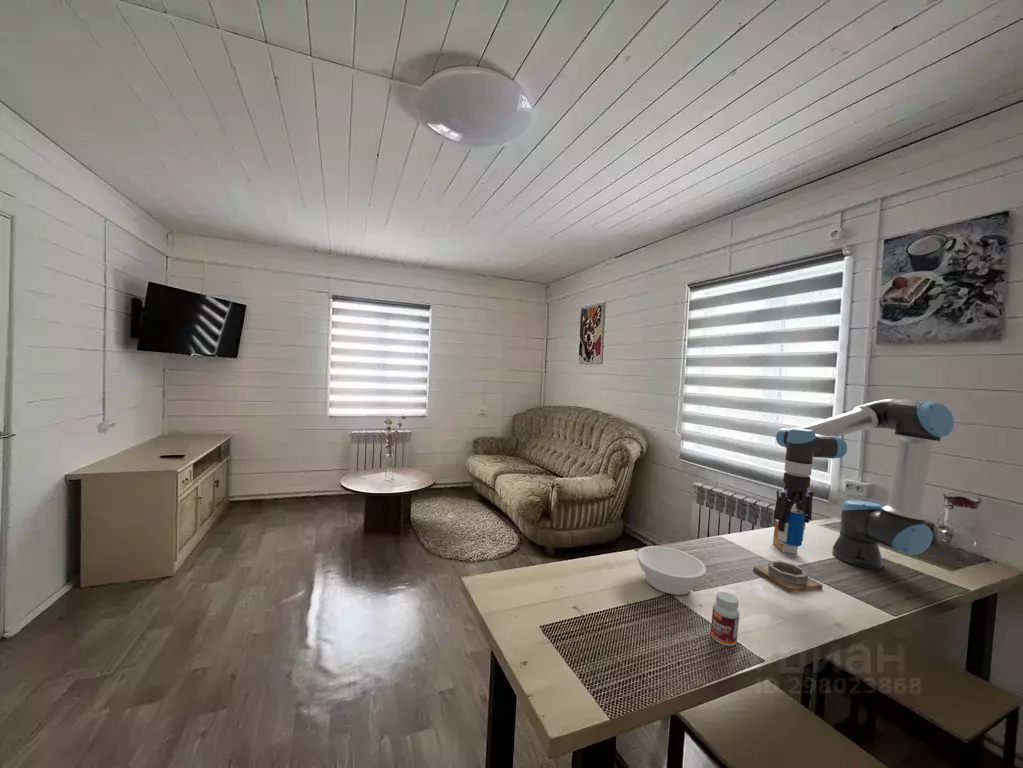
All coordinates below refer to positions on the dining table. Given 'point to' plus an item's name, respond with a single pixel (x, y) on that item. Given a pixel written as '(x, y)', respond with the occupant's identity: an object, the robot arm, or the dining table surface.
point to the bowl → (670, 569)
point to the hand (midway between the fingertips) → (790, 539)
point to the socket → (787, 576)
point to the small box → (779, 544)
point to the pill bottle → (725, 619)
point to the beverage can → (795, 528)
